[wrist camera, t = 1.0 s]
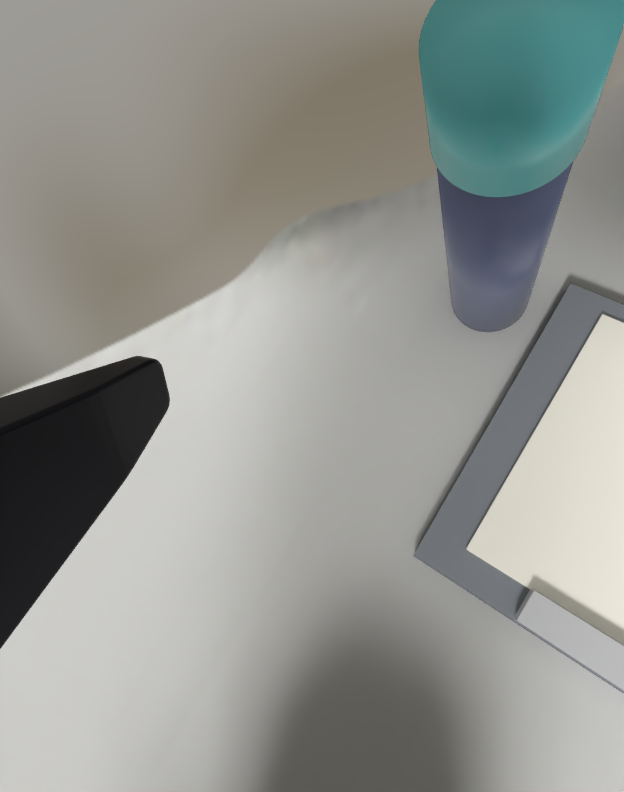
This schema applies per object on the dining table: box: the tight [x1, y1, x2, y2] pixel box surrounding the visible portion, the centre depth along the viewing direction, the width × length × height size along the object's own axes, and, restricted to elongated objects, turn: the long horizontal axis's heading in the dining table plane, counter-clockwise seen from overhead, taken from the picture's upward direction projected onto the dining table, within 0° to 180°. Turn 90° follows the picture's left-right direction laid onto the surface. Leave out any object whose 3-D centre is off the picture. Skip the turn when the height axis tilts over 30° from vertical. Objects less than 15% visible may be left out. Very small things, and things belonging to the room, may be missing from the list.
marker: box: [419, 0, 624, 332], centre depth 15 cm, size 3×3×13 cm
